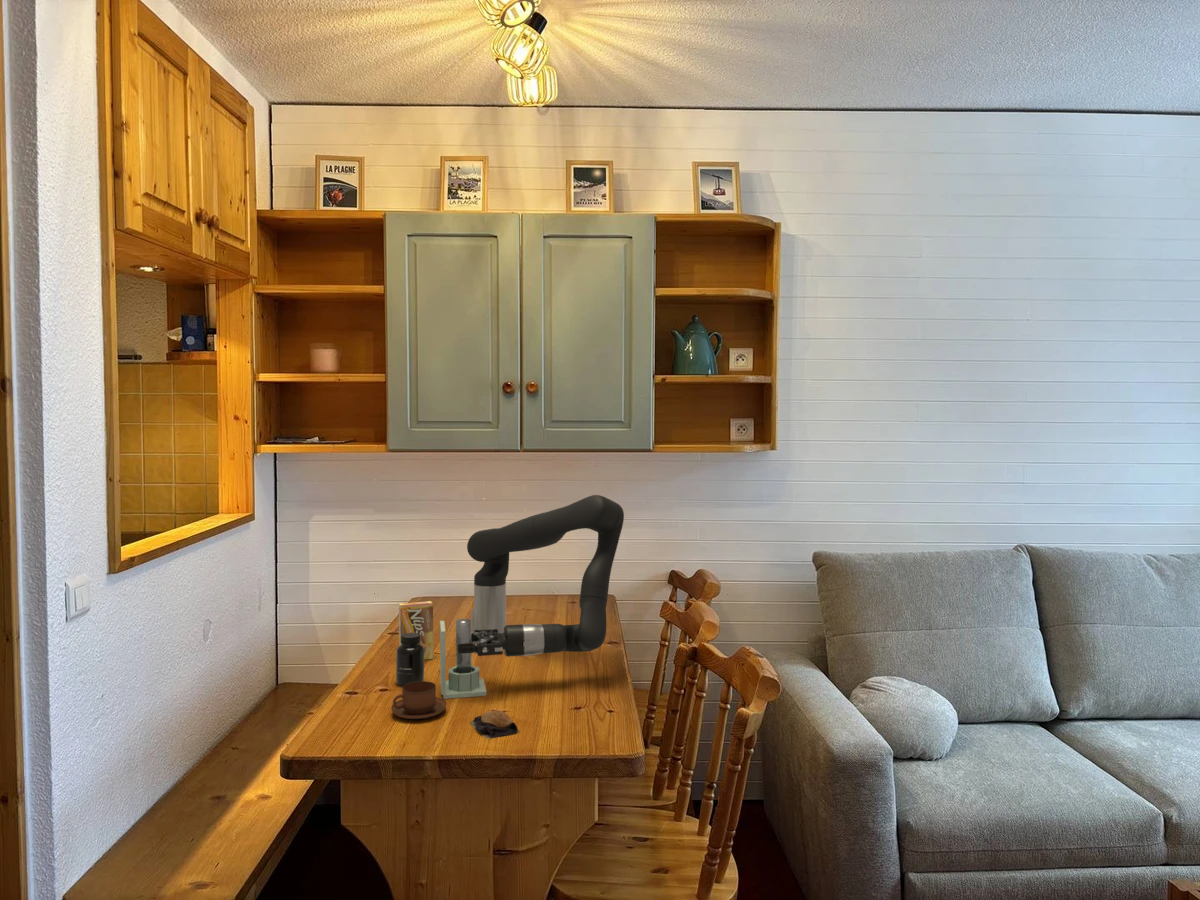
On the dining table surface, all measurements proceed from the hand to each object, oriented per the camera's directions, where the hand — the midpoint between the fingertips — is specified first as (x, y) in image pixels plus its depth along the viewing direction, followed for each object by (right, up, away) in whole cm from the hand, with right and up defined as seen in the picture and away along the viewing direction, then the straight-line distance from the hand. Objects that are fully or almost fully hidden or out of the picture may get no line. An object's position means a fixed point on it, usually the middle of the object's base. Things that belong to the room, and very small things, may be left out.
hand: (457, 643), depth 193 cm
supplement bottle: (-13, -11, +6) cm, 18 cm away
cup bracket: (+2, -11, +1) cm, 12 cm away
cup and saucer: (-6, -12, -14) cm, 20 cm away
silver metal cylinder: (+2, -10, +1) cm, 11 cm away
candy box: (-16, -11, +26) cm, 32 cm away
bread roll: (+12, -13, -22) cm, 28 cm away
